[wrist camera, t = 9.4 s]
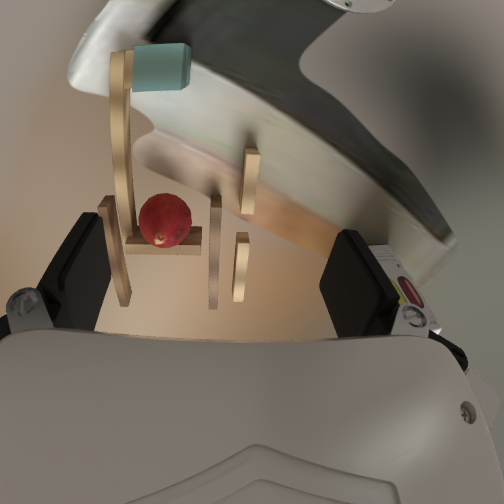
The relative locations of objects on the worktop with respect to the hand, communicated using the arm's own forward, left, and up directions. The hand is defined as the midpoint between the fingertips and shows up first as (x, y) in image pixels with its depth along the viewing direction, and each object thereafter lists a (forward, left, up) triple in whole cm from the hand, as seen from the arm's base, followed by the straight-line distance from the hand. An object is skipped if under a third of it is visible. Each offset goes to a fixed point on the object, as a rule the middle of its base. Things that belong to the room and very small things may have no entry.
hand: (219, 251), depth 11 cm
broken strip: (+12, +4, -22) cm, 25 cm away
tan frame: (+3, -6, -22) cm, 23 cm away
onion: (+10, -5, -22) cm, 25 cm away
